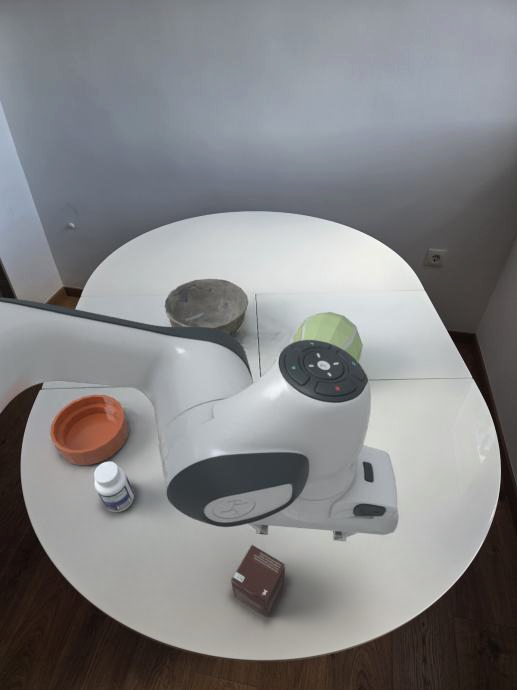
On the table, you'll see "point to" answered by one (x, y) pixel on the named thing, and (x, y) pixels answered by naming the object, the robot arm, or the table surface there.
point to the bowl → (207, 305)
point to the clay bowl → (90, 429)
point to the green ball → (331, 332)
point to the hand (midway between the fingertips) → (300, 531)
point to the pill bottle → (113, 487)
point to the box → (258, 580)
